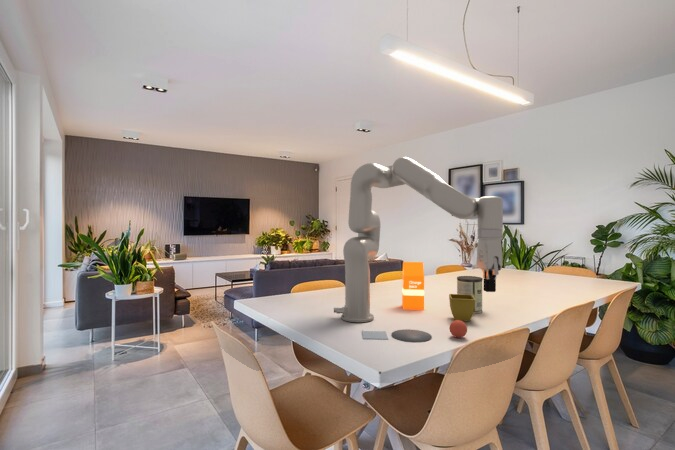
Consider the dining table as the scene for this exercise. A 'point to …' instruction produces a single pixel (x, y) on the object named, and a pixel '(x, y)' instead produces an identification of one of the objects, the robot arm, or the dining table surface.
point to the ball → (458, 328)
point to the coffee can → (471, 289)
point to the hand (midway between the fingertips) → (489, 291)
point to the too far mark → (374, 335)
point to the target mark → (411, 335)
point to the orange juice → (413, 285)
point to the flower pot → (462, 306)
